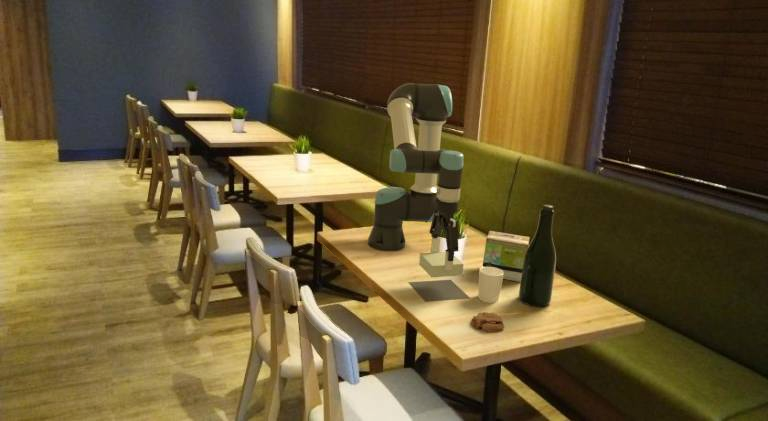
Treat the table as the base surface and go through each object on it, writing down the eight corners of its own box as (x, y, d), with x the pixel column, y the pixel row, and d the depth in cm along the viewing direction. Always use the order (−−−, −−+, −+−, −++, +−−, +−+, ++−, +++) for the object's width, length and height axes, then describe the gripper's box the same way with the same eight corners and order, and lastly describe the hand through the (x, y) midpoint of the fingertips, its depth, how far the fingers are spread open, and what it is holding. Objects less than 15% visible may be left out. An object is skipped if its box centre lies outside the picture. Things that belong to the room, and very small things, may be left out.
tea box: (481, 276, 222) (485, 237, 217) (484, 267, 231) (488, 229, 227) (523, 283, 218) (528, 243, 214) (524, 273, 227) (530, 235, 223)
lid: (419, 264, 207) (420, 253, 206) (448, 262, 211) (449, 251, 210) (431, 277, 198) (432, 265, 196) (462, 275, 201) (463, 263, 200)
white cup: (499, 305, 198) (503, 277, 195) (475, 302, 199) (478, 273, 196) (500, 296, 205) (504, 268, 202) (476, 292, 207) (480, 265, 204)
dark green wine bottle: (557, 305, 201) (572, 208, 192) (531, 309, 196) (546, 211, 187) (536, 292, 210) (549, 200, 201) (511, 296, 205) (524, 202, 196)
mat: (408, 283, 211) (408, 282, 211) (450, 280, 216) (450, 279, 216) (425, 302, 196) (425, 301, 196) (470, 299, 201) (470, 298, 201)
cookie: (503, 320, 188) (504, 311, 187) (504, 335, 178) (505, 326, 177) (471, 315, 190) (472, 307, 189) (470, 331, 180) (471, 322, 179)
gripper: (423, 189, 206) (418, 250, 213) (451, 210, 185) (444, 277, 192) (443, 189, 209) (437, 249, 215) (474, 209, 188) (466, 275, 194)
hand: (441, 262), depth 203 cm, fingers closed on lid, 11 cm apart
